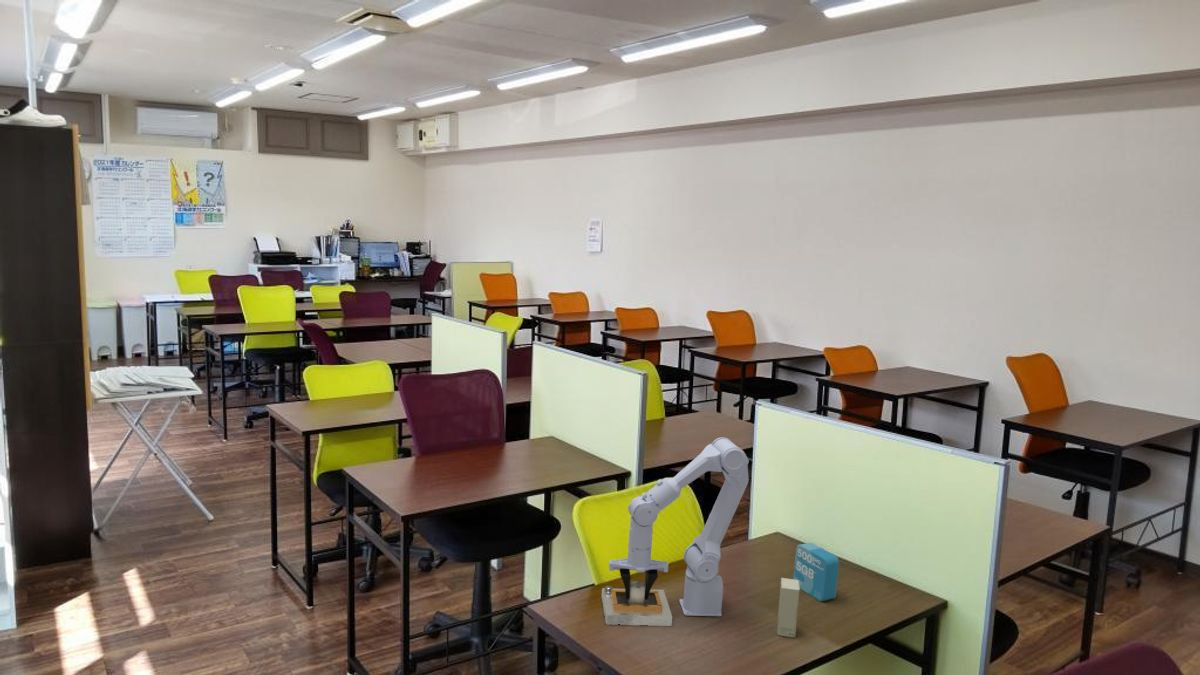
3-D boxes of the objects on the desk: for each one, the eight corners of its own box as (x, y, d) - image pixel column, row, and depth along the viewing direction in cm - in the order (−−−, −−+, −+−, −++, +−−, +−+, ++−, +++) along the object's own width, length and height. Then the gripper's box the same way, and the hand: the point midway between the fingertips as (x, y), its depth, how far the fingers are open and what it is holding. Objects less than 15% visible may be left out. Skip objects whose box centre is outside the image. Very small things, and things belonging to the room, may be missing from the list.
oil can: (642, 599, 204) (643, 576, 203) (645, 607, 200) (647, 584, 199) (626, 600, 203) (628, 577, 202) (630, 608, 199) (631, 584, 198)
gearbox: (663, 598, 209) (664, 586, 209) (671, 626, 196) (672, 612, 195) (601, 597, 208) (602, 584, 208) (605, 624, 194) (606, 611, 194)
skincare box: (795, 638, 193) (800, 590, 191) (776, 635, 194) (781, 588, 192) (794, 625, 199) (799, 579, 198) (776, 623, 200) (780, 576, 198)
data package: (792, 584, 223) (796, 542, 221) (804, 581, 225) (809, 540, 223) (822, 603, 212) (827, 560, 210) (835, 600, 214) (840, 557, 212)
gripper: (612, 551, 195) (608, 604, 197) (671, 553, 196) (667, 605, 198) (609, 539, 202) (606, 591, 204) (667, 541, 203) (663, 592, 205)
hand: (636, 597), depth 201 cm, fingers closed on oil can, 4 cm apart
